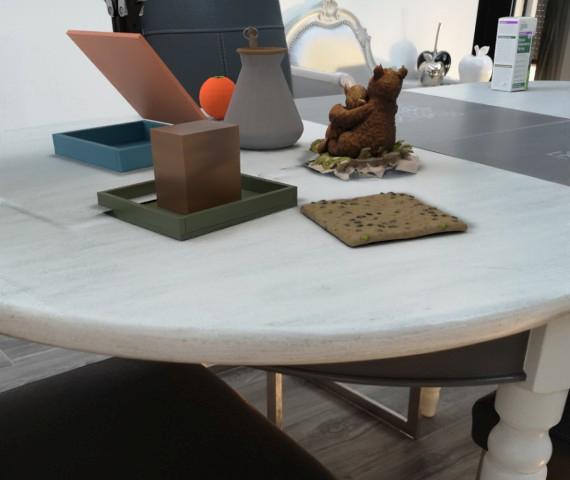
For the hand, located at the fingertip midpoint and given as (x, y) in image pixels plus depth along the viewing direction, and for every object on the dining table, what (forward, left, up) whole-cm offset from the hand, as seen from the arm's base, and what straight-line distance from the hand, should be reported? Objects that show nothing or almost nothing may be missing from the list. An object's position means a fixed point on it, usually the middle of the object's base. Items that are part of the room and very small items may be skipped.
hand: (129, 51), depth 82 cm
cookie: (-1, -40, -13) cm, 42 cm away
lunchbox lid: (+1, 0, -4) cm, 4 cm away
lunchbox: (-1, 0, -13) cm, 13 cm away
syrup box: (+96, -3, -13) cm, 97 cm away
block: (-10, -24, -12) cm, 29 cm away
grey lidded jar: (+18, -4, -13) cm, 23 cm away
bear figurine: (+16, -24, -13) cm, 32 cm away
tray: (-10, -24, -13) cm, 29 cm away
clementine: (+28, +16, -13) cm, 35 cm away
